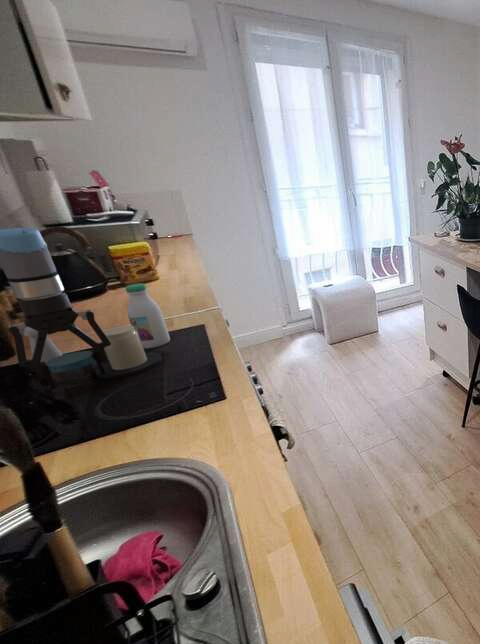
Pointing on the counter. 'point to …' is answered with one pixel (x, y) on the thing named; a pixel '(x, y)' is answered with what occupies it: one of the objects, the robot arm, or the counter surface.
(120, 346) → the jar
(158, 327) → the milk bottle
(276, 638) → the counter surface
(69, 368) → the lid
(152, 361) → the trivet
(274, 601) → the counter surface
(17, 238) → the robot arm
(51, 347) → the salt shaker
